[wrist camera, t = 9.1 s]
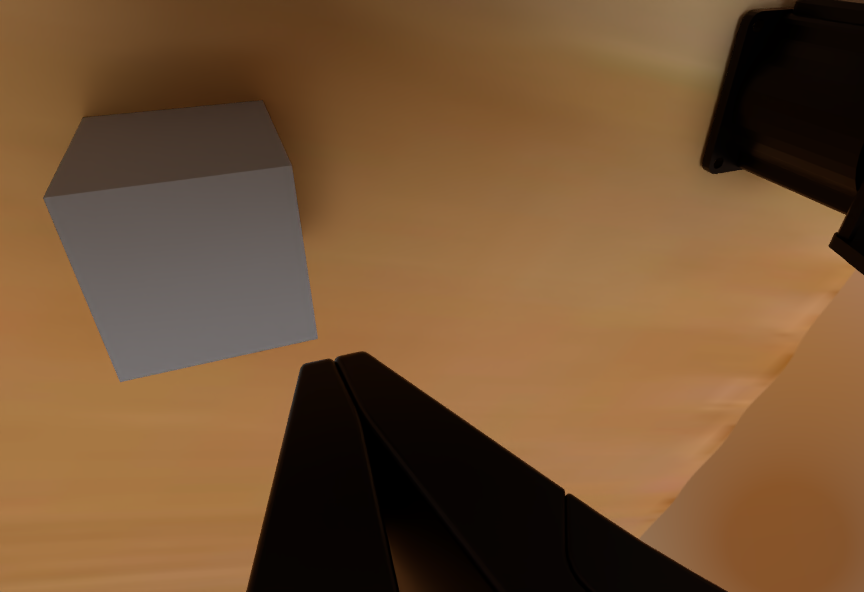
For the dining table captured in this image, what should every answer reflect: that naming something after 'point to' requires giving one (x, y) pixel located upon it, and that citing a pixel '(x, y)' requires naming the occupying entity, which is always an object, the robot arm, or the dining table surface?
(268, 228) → the part block
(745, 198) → the dining table surface
